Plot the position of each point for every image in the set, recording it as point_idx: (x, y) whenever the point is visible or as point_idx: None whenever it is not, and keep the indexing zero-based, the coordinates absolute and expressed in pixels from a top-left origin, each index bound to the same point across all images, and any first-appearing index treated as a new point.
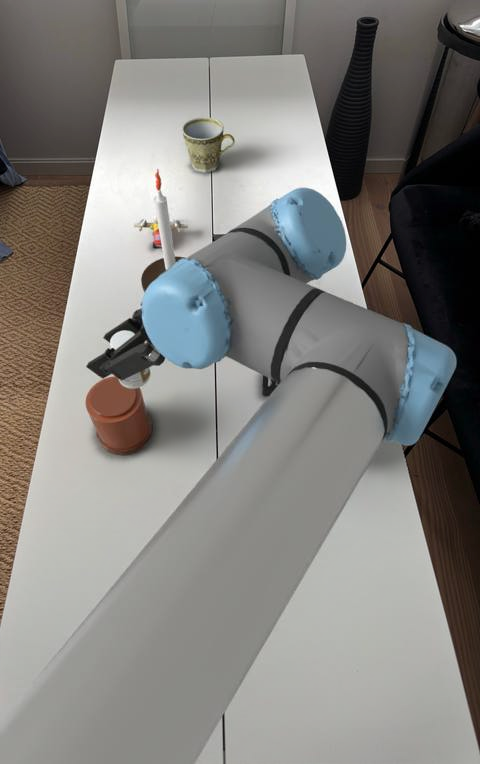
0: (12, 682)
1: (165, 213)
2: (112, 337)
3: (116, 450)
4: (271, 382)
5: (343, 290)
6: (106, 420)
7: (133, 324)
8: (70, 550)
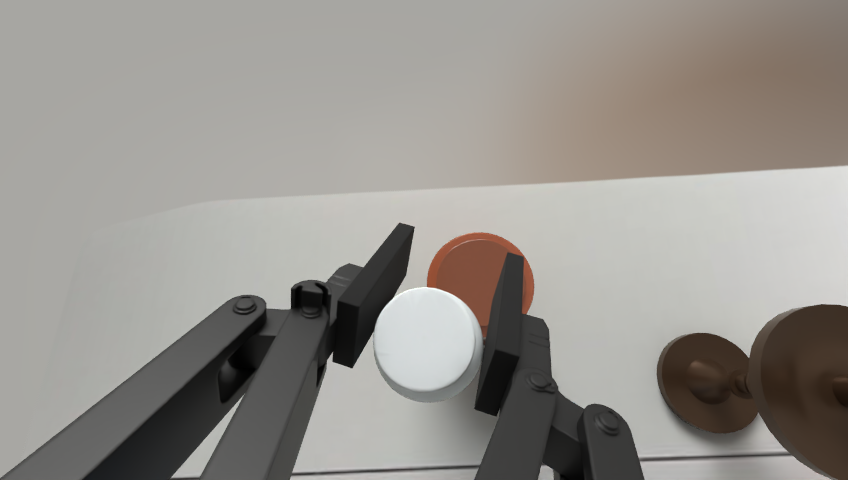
0: (151, 220)
1: None
2: (439, 292)
3: None
4: None
5: None
6: (431, 276)
7: (497, 371)
8: (289, 253)
